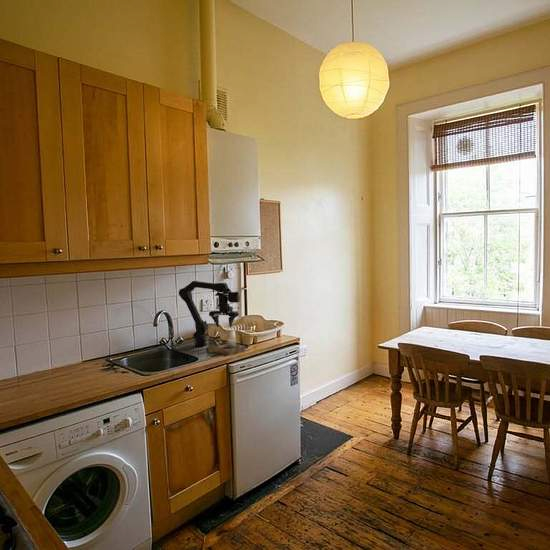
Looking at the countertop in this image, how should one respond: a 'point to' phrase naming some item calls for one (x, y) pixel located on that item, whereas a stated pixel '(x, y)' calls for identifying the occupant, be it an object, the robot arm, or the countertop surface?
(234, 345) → the cream leg
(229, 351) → the walnut board
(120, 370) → the countertop surface
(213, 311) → the robot arm
